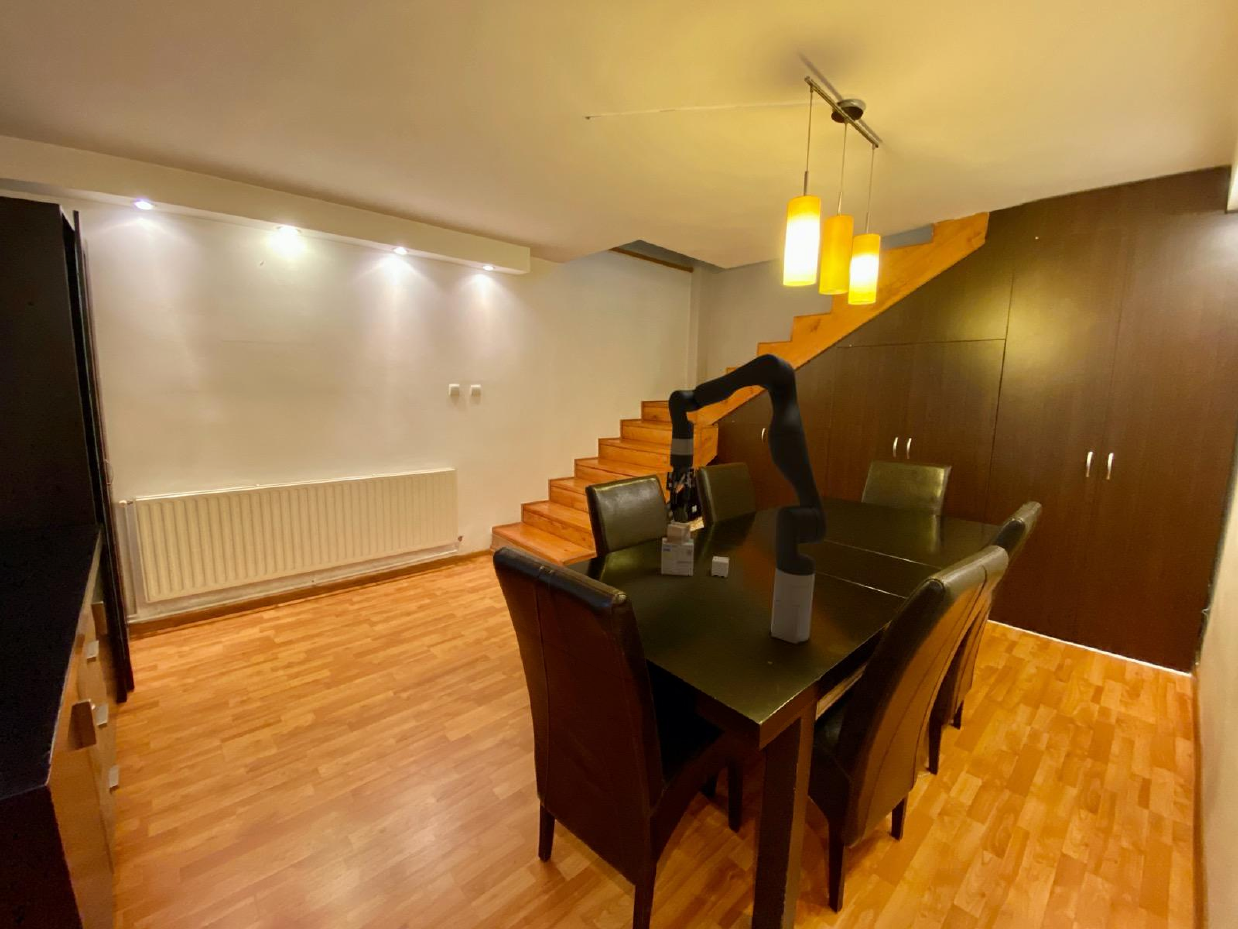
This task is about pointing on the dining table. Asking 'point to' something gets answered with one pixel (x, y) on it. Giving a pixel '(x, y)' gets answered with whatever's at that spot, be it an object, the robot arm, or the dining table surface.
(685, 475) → the robot arm
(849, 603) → the dining table surface
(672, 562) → the light bulb box
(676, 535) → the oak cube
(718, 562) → the grey block
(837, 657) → the dining table surface
